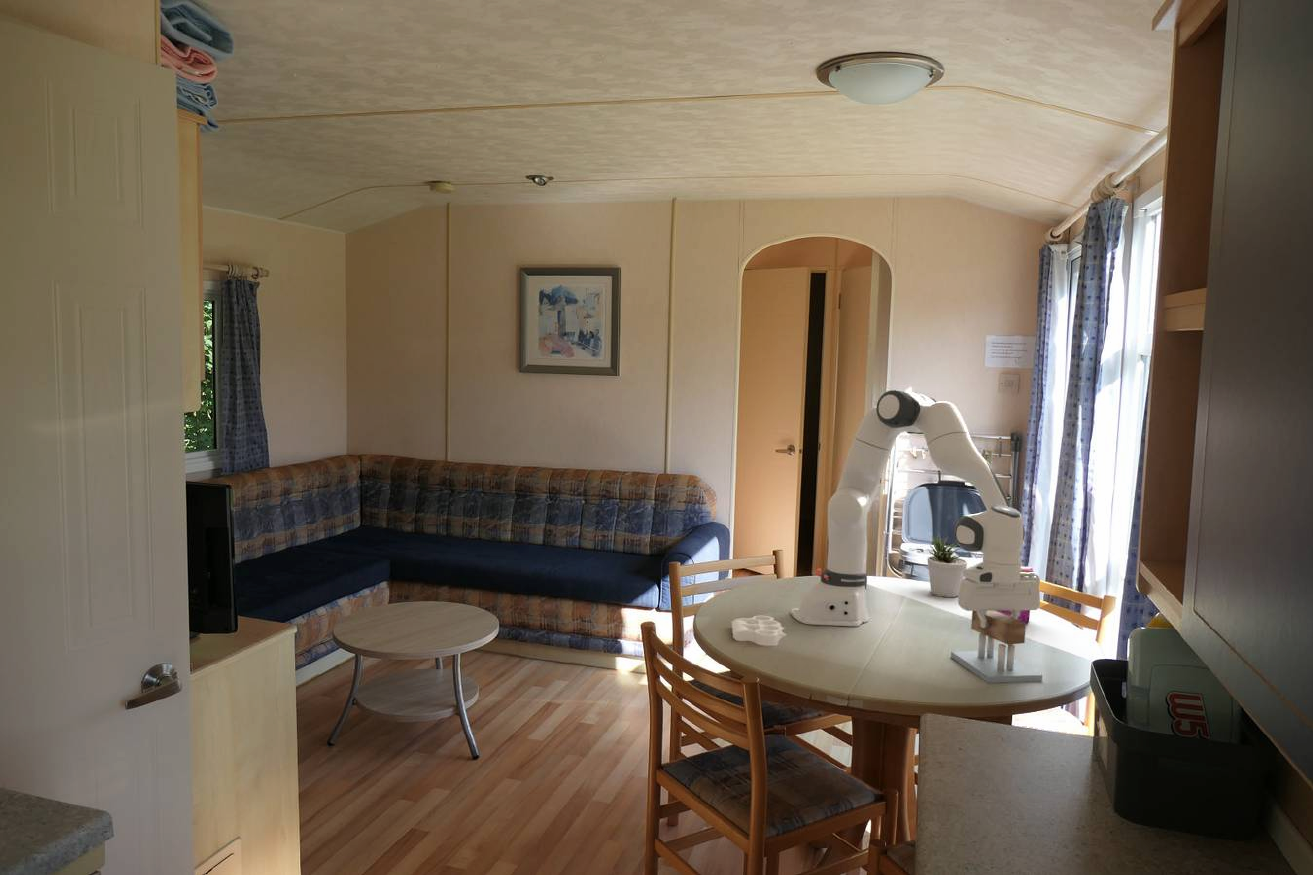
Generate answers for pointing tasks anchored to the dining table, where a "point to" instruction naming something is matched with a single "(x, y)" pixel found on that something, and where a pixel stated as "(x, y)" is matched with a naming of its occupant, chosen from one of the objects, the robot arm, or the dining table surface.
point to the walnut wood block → (1000, 627)
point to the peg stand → (995, 663)
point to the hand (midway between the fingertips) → (997, 627)
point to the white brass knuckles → (758, 630)
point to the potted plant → (945, 570)
